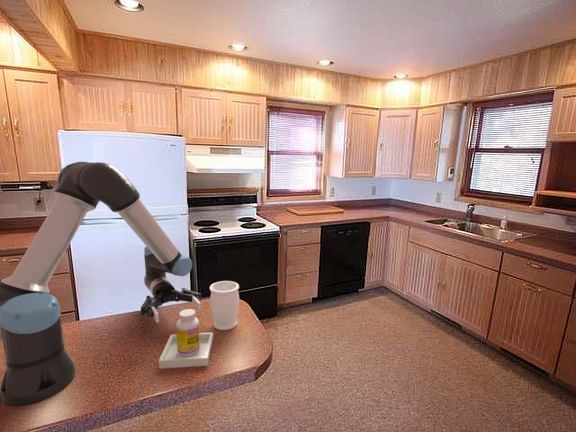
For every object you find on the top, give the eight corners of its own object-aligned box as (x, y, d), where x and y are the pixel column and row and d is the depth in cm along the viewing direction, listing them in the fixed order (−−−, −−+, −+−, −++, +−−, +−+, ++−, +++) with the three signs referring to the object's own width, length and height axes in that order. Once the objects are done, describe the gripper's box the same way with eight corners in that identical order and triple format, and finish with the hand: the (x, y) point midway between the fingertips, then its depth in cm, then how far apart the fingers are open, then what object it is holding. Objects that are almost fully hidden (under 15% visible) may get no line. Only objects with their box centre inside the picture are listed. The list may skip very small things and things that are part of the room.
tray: (159, 368, 86) (158, 360, 86) (171, 341, 100) (171, 334, 99) (207, 365, 88) (207, 357, 88) (213, 339, 101) (213, 332, 101)
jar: (205, 323, 111) (204, 285, 109) (229, 314, 118) (229, 278, 116) (220, 335, 103) (219, 294, 101) (245, 325, 110) (244, 286, 108)
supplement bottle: (187, 360, 89) (186, 320, 87) (172, 353, 93) (170, 314, 91) (204, 348, 95) (203, 310, 93) (189, 342, 98) (188, 305, 96)
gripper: (195, 292, 123) (215, 312, 106) (126, 308, 109) (138, 335, 92) (194, 274, 122) (215, 292, 105) (125, 288, 107) (136, 312, 91)
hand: (179, 312), depth 98 cm, fingers open, 13 cm apart
